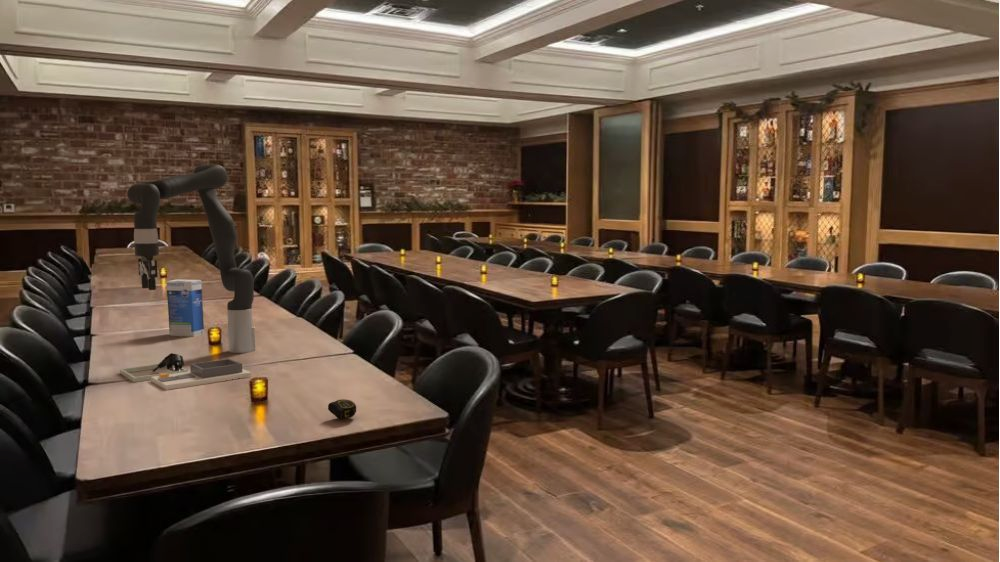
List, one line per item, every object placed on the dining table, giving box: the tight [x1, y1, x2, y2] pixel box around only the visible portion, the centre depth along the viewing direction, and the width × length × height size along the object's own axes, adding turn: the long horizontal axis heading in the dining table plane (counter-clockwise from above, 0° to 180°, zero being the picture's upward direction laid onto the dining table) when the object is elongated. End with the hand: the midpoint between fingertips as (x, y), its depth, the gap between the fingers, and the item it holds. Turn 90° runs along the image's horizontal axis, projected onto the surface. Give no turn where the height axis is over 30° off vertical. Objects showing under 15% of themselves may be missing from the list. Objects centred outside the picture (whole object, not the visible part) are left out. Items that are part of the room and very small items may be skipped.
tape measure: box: [327, 398, 357, 420], centre depth 204 cm, size 7×7×4 cm
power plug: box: [152, 352, 185, 372], centre depth 258 cm, size 6×8×12 cm
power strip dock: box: [150, 358, 252, 391], centre depth 250 cm, size 28×16×4 cm, turn 131°
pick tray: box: [119, 363, 189, 383], centre depth 258 cm, size 18×18×2 cm
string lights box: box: [166, 279, 205, 338], centre depth 328 cm, size 13×8×26 cm, turn 74°
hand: (148, 289), depth 255 cm, fingers open, 7 cm apart
